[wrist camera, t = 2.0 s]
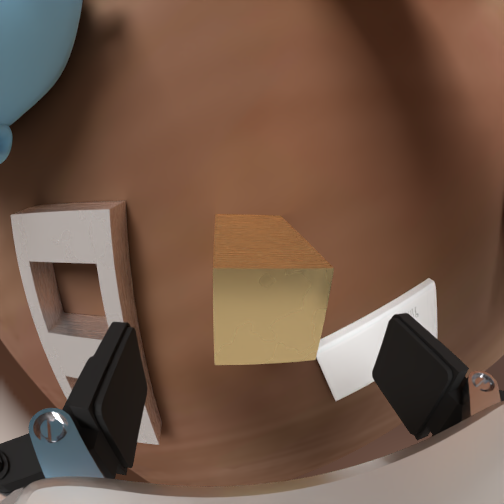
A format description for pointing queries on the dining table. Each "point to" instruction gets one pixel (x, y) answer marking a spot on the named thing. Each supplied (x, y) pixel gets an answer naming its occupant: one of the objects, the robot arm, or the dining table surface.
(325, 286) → the gold rectangular block
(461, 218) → the dining table surface
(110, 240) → the grey slotted plate
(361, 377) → the external hard drive
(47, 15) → the decorative pot
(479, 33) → the dining table surface
